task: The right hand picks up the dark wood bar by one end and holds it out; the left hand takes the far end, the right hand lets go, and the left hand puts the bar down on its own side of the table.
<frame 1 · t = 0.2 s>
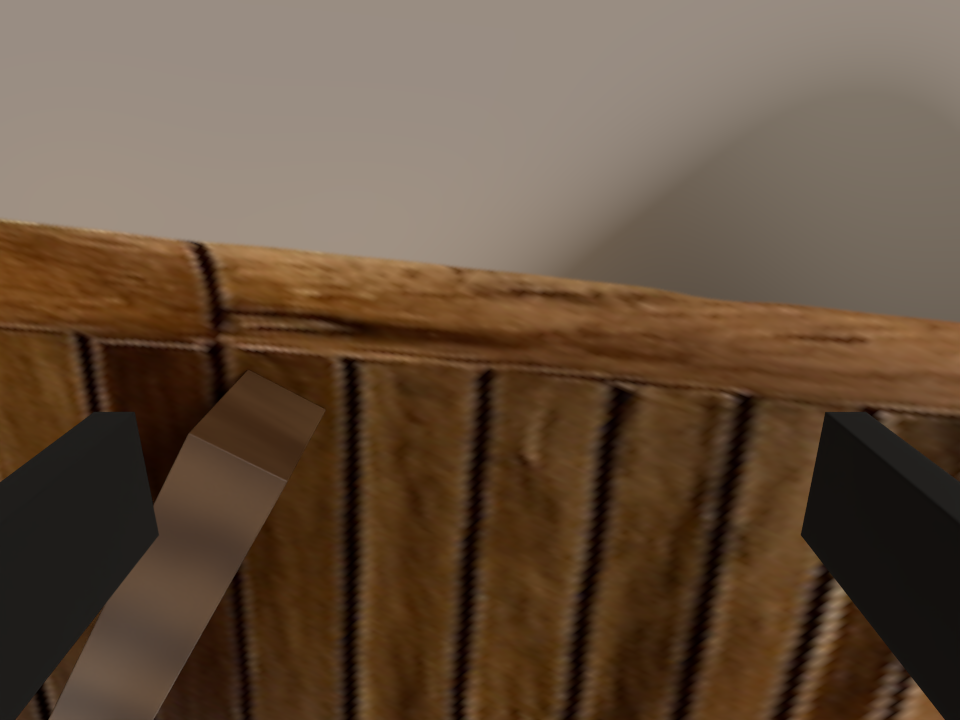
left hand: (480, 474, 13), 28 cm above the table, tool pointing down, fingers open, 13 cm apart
bar: (207, 540, 46), on the table
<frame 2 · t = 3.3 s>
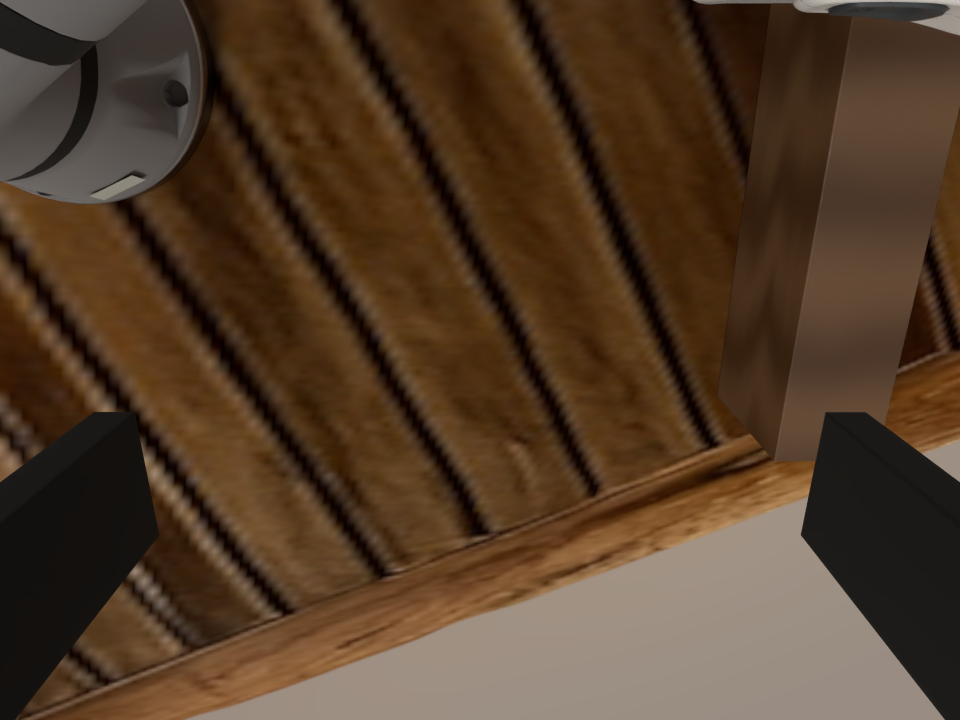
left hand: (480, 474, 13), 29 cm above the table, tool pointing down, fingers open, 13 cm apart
bar: (790, 189, 39), on the table, touching right hand
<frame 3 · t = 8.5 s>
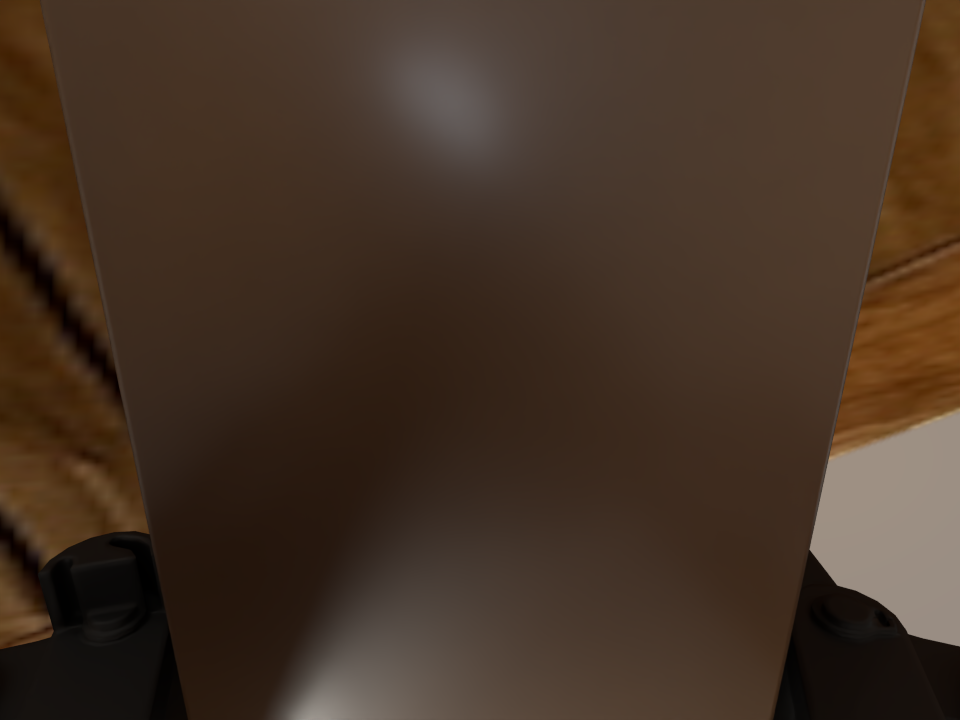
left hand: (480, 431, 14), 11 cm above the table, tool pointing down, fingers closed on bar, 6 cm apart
when the right hand's fingers open (14 cm above the table, at t = 9.3 s): bar stays where it is, held by the left hand.
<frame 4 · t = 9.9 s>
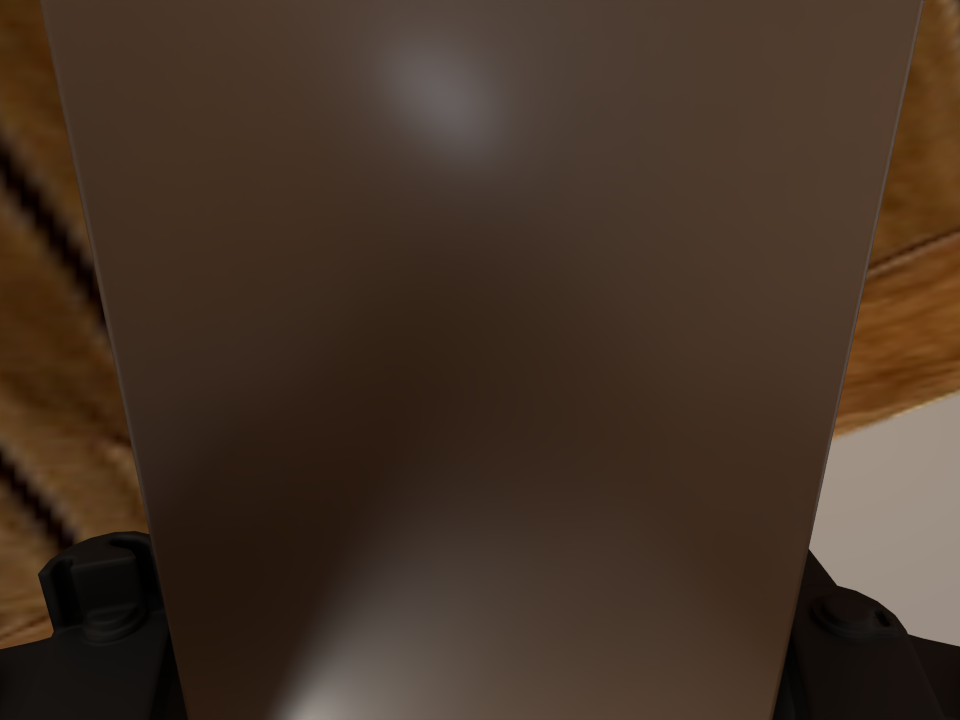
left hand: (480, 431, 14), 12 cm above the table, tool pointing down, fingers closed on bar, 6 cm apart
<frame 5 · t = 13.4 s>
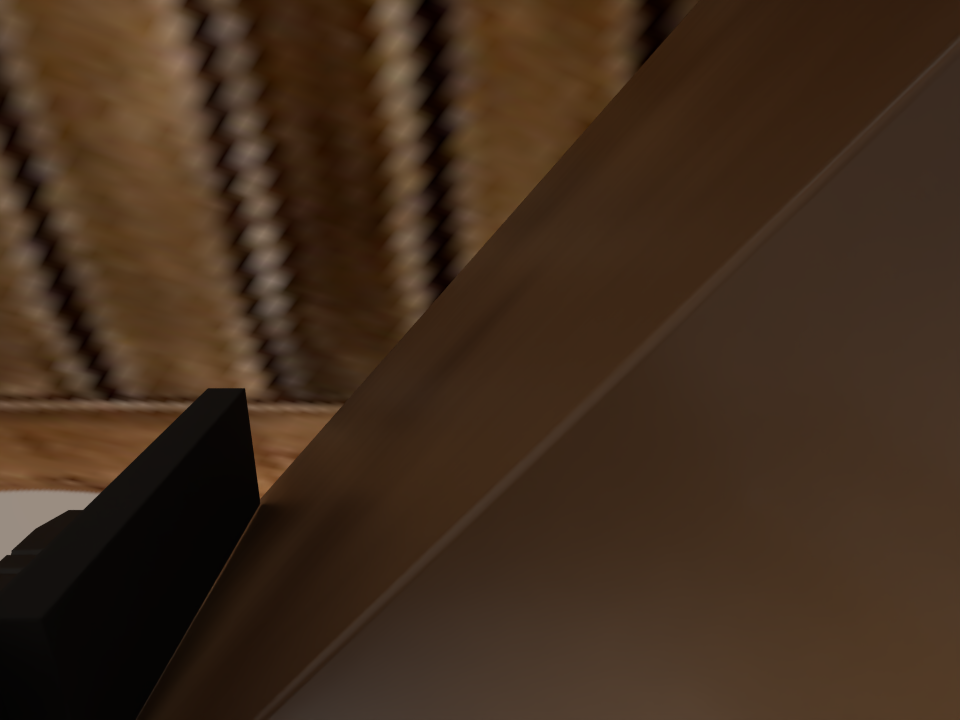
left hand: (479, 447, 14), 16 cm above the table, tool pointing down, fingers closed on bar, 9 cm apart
bar: (763, 153, 12), point 15 cm above the table, touching left arm, left hand
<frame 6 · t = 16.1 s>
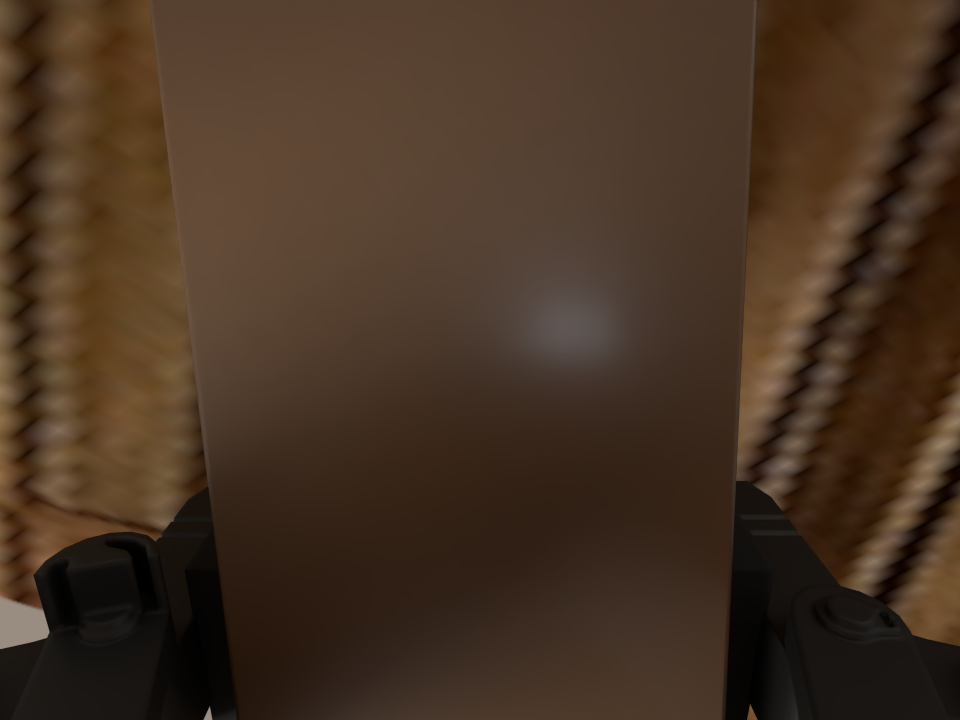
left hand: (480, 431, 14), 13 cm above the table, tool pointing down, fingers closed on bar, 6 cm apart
bar: (468, 85, 15), point 10 cm above the table, tilted 9°, touching left hand
when the left hand's fingers open (2 cm above the table, at t = 17.5 s): bar stays where it is, on the table.
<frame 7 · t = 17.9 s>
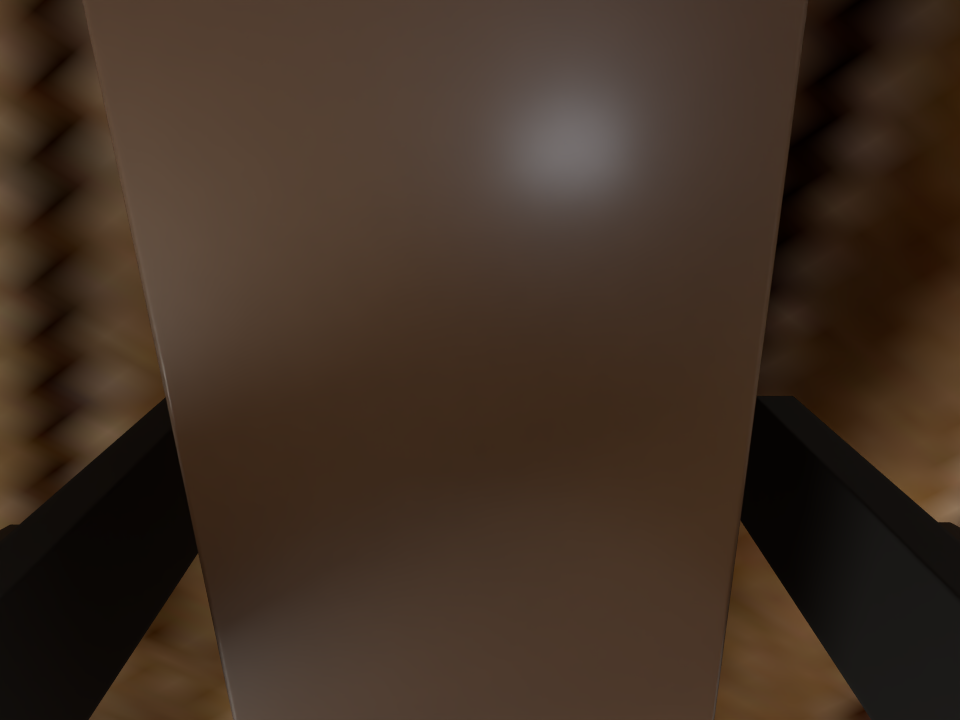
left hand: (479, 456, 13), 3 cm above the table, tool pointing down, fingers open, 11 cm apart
bar: (466, 49, 13), on the table
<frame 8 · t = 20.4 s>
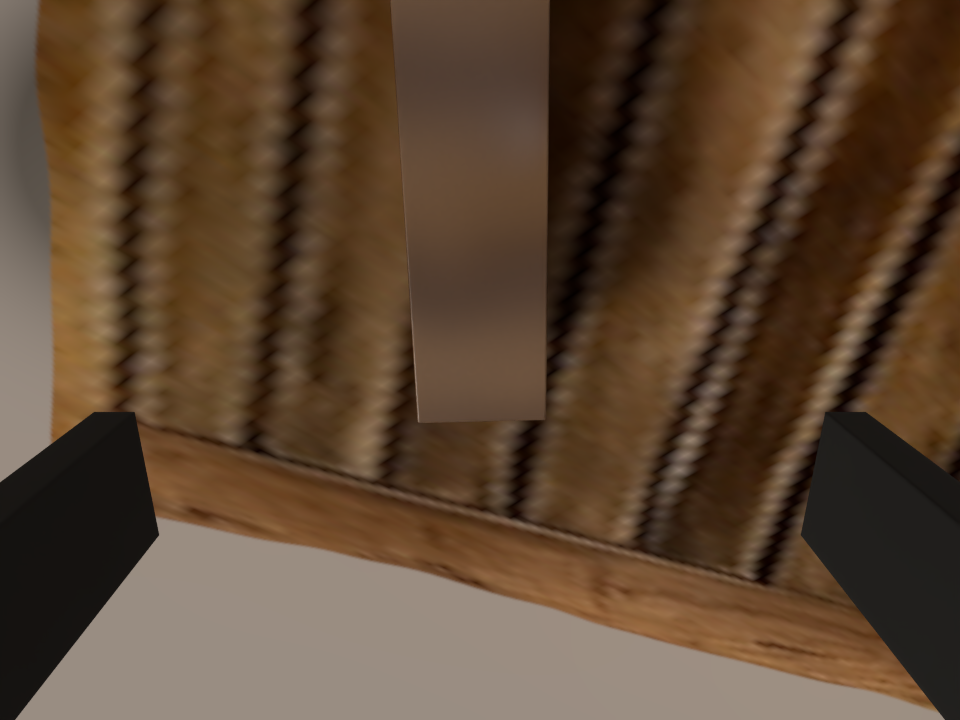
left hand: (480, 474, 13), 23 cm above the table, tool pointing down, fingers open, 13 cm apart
bar: (474, 92, 32), on the table
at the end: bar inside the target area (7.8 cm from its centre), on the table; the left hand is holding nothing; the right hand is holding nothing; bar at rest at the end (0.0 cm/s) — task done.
